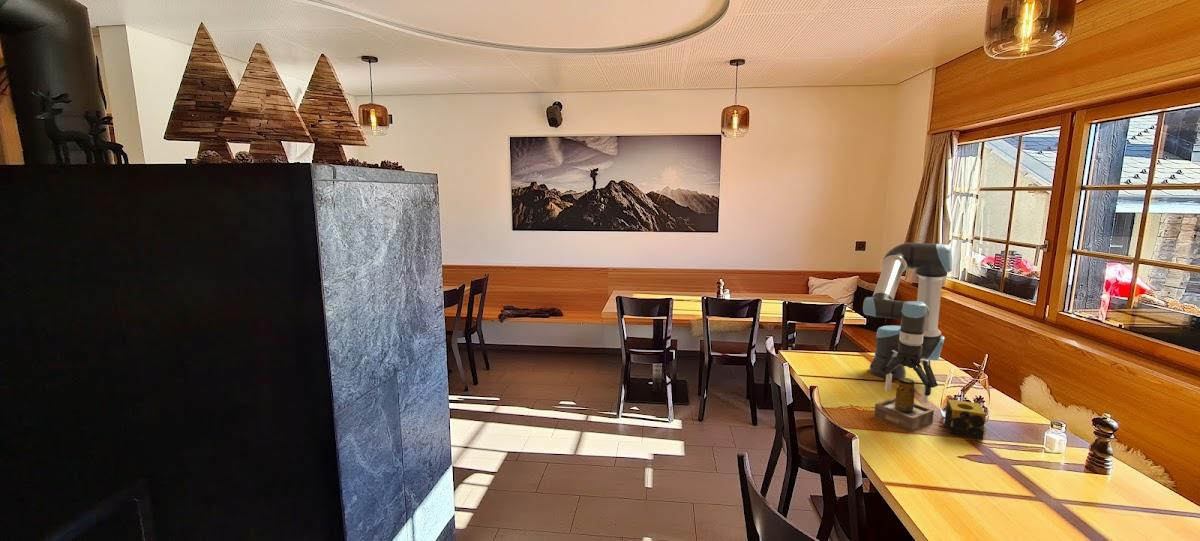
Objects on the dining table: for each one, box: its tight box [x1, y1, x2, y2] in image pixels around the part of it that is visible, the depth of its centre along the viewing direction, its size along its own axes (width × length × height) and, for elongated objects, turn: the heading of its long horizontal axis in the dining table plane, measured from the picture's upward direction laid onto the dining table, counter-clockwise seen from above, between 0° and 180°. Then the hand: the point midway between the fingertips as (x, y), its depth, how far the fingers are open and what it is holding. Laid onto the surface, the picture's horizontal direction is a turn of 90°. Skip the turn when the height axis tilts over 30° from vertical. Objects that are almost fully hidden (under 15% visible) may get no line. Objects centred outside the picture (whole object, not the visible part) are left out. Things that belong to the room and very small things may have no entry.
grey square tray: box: [873, 396, 935, 433], centre depth 188 cm, size 14×14×5 cm
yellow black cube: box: [944, 398, 987, 440], centre depth 179 cm, size 10×10×10 cm
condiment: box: [891, 377, 922, 416], centre depth 186 cm, size 7×8×12 cm
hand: (905, 396), depth 187 cm, fingers open, 13 cm apart
